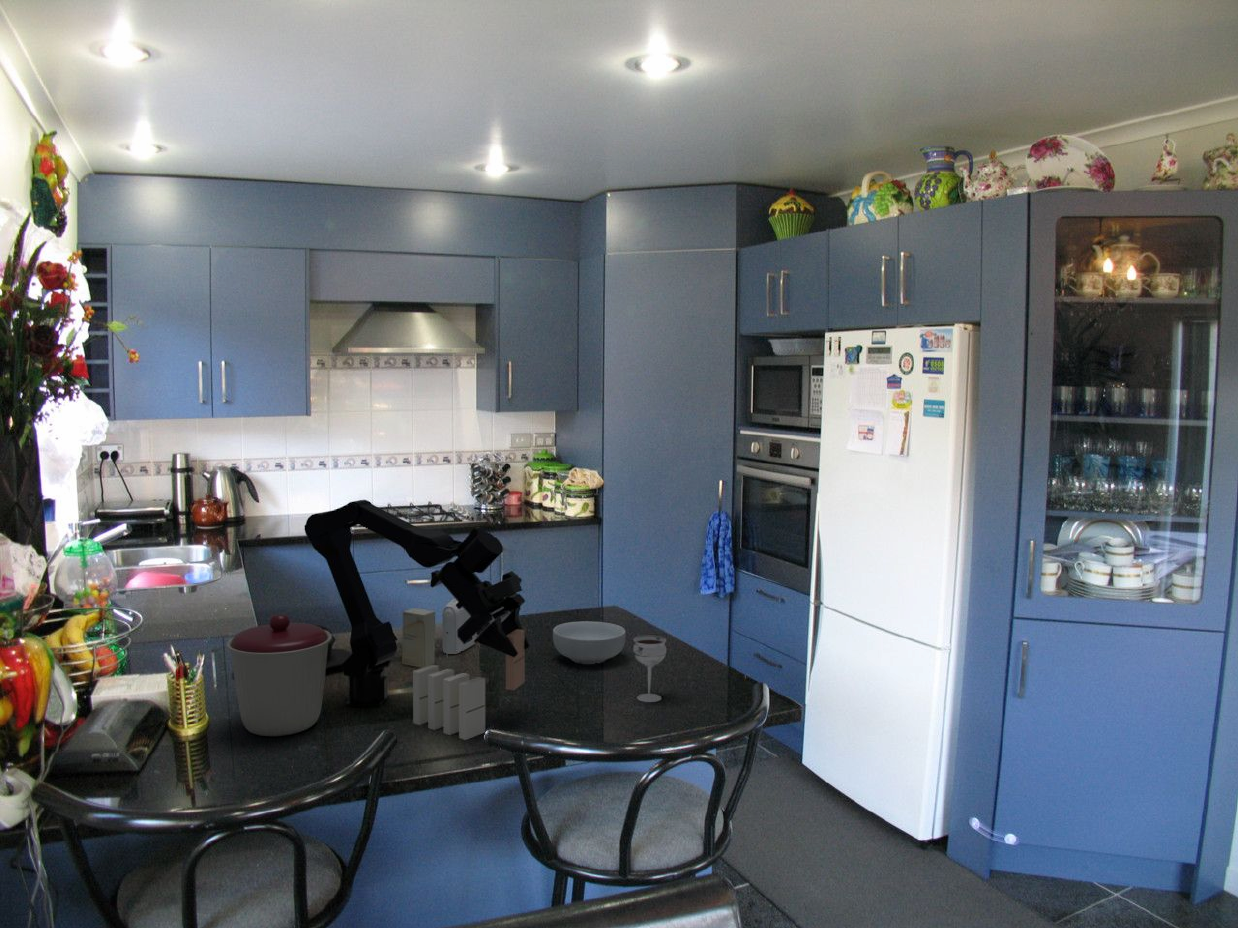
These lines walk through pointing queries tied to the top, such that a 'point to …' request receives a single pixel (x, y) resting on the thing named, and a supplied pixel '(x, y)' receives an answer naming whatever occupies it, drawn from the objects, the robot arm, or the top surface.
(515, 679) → the domino
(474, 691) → the domino
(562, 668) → the top surface
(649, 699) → the wineglass
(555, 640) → the cereal bowl
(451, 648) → the photo printer
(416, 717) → the domino
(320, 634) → the canister
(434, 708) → the domino
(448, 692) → the domino
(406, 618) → the skincare box
